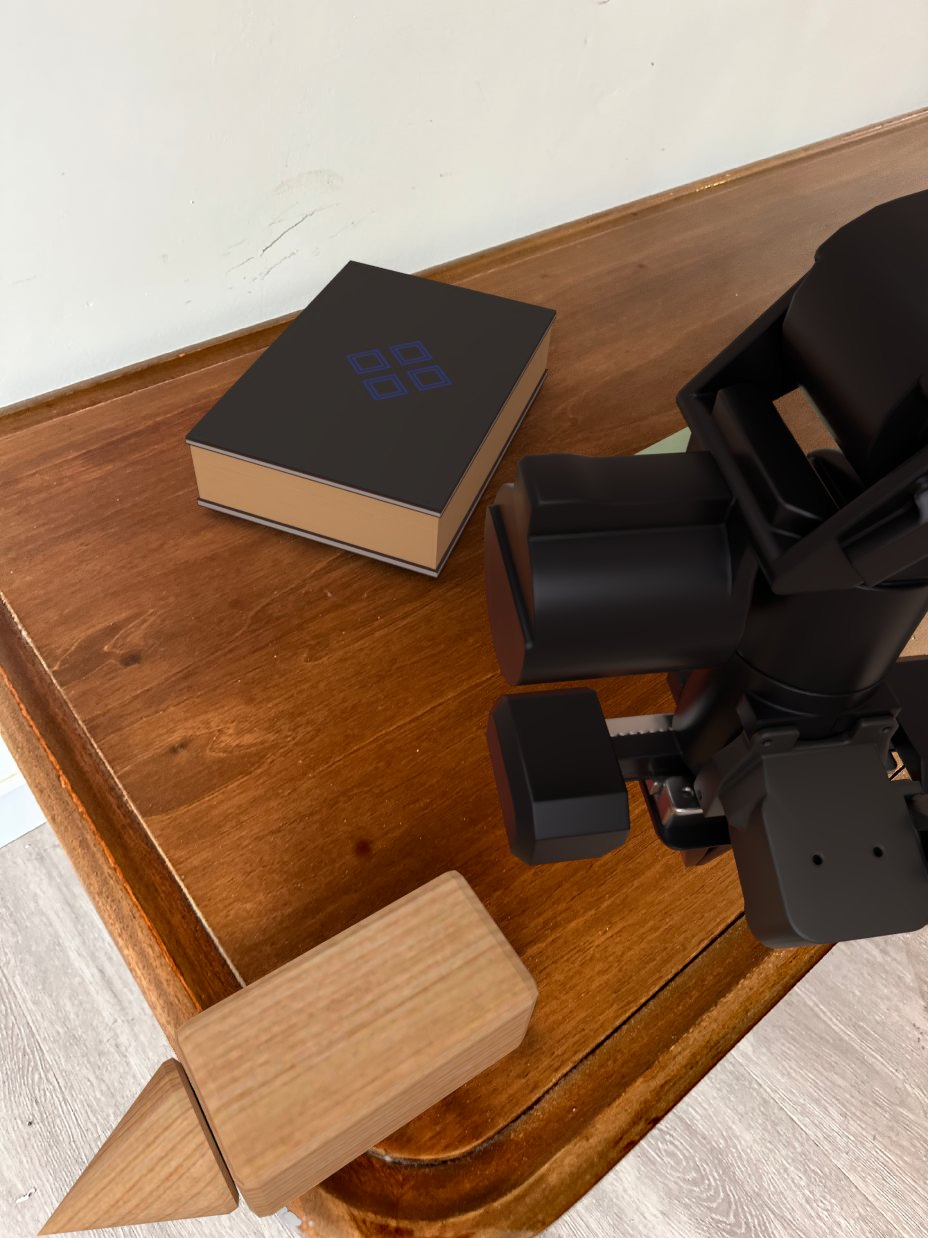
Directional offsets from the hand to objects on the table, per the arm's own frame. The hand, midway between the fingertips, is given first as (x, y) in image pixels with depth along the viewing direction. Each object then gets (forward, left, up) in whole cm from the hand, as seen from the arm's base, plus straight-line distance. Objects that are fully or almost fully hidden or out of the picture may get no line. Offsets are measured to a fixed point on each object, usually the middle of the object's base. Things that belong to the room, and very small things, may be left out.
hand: (690, 856), depth 42 cm
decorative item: (+3, +8, -4) cm, 10 cm away
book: (+38, -11, -7) cm, 41 cm away
